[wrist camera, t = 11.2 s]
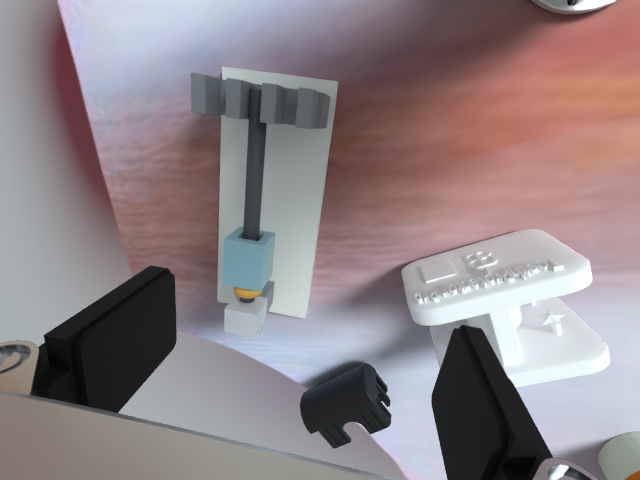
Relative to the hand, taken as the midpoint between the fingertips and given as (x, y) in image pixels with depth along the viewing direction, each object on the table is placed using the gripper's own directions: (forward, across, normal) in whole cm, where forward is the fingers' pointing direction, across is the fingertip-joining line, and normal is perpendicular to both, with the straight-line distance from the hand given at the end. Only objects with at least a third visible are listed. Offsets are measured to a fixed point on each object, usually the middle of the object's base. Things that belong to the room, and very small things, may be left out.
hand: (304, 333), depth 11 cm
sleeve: (+23, +9, +8) cm, 26 cm away
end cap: (+29, -4, +28) cm, 40 cm away
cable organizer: (+29, -16, +9) cm, 34 cm away
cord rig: (+28, +9, +4) cm, 30 cm away
